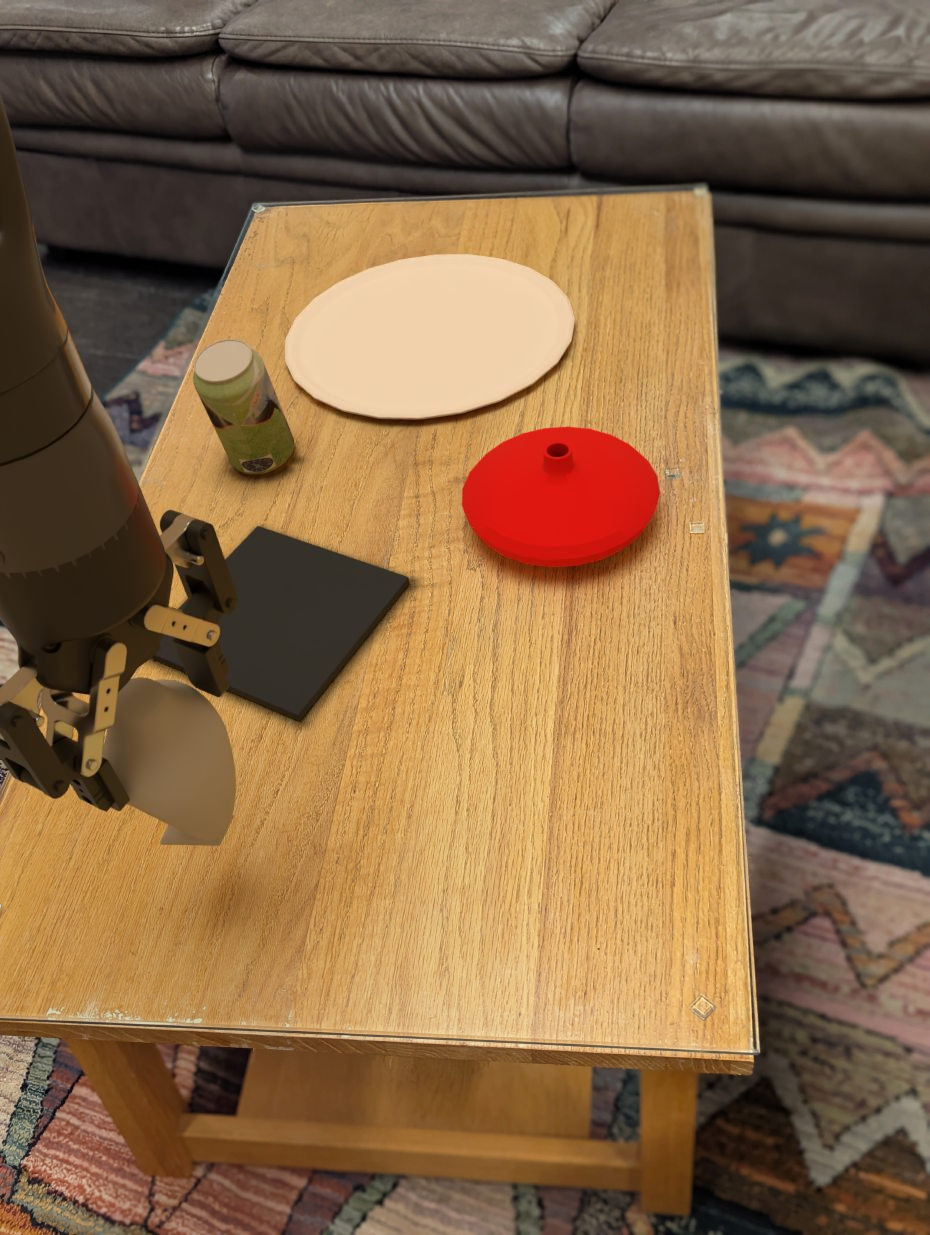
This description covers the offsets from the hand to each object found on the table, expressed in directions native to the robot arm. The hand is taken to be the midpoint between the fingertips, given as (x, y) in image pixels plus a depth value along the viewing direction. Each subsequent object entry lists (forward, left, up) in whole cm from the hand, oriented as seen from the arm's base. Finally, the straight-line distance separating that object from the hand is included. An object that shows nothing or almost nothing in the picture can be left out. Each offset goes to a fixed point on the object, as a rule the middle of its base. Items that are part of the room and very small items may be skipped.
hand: (162, 742), depth 56 cm
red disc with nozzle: (+39, -3, -16) cm, 42 cm away
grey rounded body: (0, 0, -9) cm, 9 cm away
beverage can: (+35, +25, -16) cm, 46 cm away
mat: (+20, +12, -16) cm, 28 cm away
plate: (+58, +21, -16) cm, 64 cm away
